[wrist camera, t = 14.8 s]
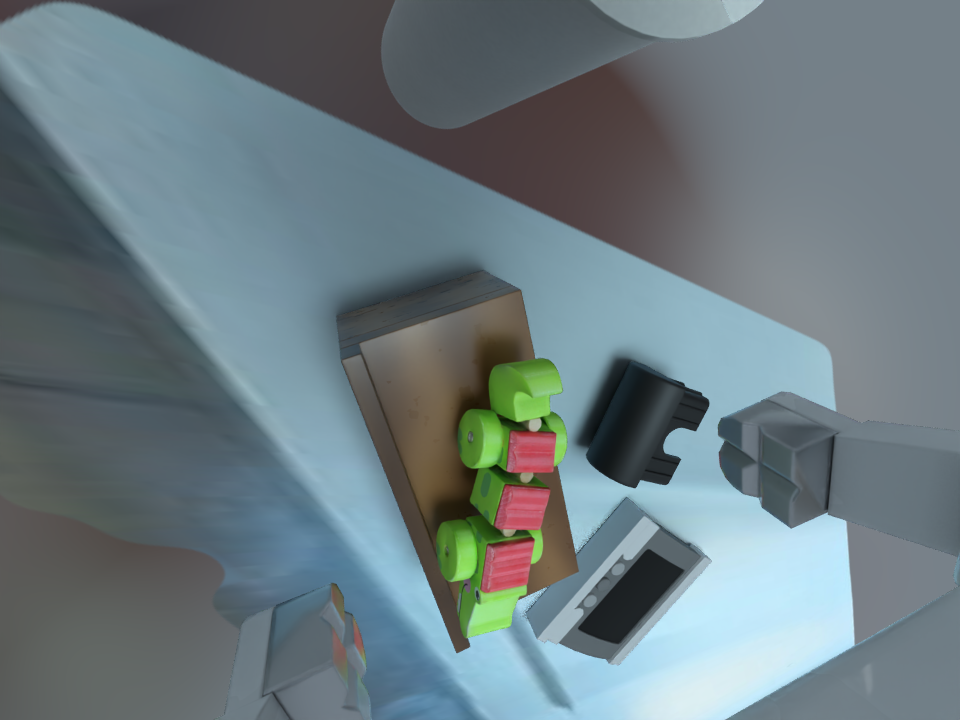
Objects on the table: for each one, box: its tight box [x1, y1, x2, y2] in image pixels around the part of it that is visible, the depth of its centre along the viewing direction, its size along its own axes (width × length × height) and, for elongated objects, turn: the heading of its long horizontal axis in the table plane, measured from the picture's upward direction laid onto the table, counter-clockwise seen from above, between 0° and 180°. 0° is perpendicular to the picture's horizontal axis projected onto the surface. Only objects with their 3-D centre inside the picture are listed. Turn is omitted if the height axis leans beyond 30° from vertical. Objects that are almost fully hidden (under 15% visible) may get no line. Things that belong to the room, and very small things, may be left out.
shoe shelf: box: [336, 270, 579, 653], centre depth 37 cm, size 12×26×10 cm, turn 14°
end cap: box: [586, 362, 709, 488], centre depth 44 cm, size 10×7×7 cm
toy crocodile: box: [436, 358, 567, 638], centre depth 31 cm, size 20×7×6 cm, turn 167°
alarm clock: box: [526, 497, 712, 665], centre depth 54 cm, size 17×5×16 cm
